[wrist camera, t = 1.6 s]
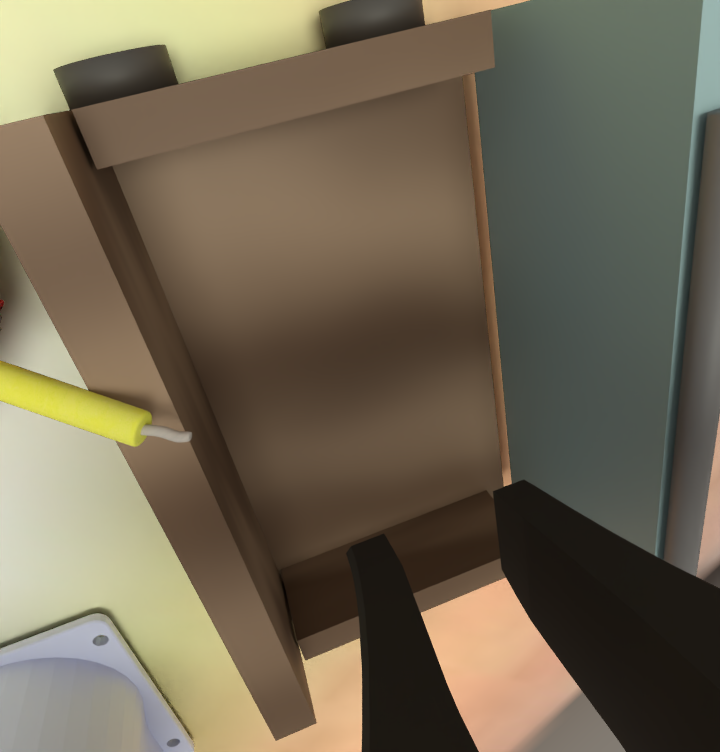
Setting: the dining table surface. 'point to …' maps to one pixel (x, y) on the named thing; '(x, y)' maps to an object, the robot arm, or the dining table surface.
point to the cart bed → (281, 315)
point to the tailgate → (608, 256)
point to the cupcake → (80, 407)
